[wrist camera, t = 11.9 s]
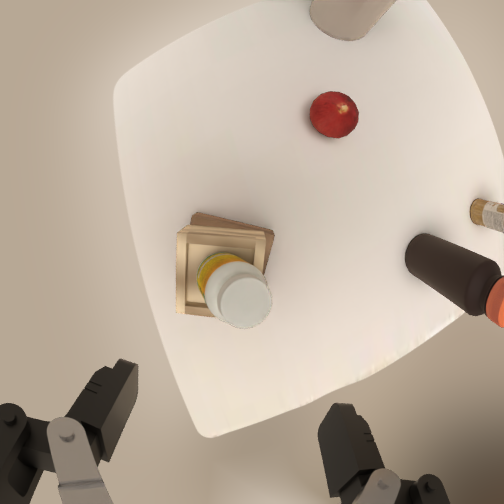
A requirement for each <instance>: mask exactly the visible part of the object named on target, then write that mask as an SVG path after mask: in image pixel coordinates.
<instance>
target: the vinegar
mask: <svg viewBox="0 0 504 504" xmlns="http://www.w3.org/2000/svg"><path fill="white" fill-rule="evenodd" d="M405 260H406V265H407V268H408V270H409V271H410V272H411V273H412V274H413V275H414V276H416V277H417V278H419V279H420V280H422V281H423V282H424V283H426V284H427V285H429V286H430V287H432V288H433V289H435V290H436V291H437V292H439V293H440V294H442V295H443V296H445V297H446V298H447V299H449V300H450V301H451V302H453V303H454V304H456V305H457V306H458V307H460V308H461V309H462V310H464V311H465V312H466V313H468V314H469V315H473V316H478V315H482V314H484V313H485V315H486V316H487V317H488V318H489V319H490V320H491V321H493V322H494V323H496V324H497V325H498V326H500V327H504V276H502V275H501V271H500V268H499V266H498V265H497V263H496V262H495V261H493V260H491V259H488V258H486V257H484V256H482V255H479V254H477V253H475V252H472V251H470V250H468V249H465V248H463V247H460V246H458V245H456V244H453V243H451V242H448V241H446V240H443V239H441V238H438V237H435V236H433V235H430V234H421V235H419V236H417V237H415V238H414V239H413V240H412V241H411V243H410V244H409V246H408V249H407V252H406V259H405Z"/></svg>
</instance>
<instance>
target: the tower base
mask: <svg viewBox="0 0 504 504" xmlns="http://www.w3.org/2000/svg"><path fill="white" fill-rule="evenodd" d="M190 225H198V226H210V227H221V228H233V229H244V230H254V231H264V234H265V238H266V246H265V255H264V264H263V273H262V274H263V275H264V273H265V269H266V265H267V262H268V258H269V254H270V251H271V247H272V243H273V240H274V236H275V235H274V233H273V230H270V229H266V228H261V227H257V226H253V225H249V224H245V223H241V222H237V221H233V220H228V219H224V218H220V217H216V216H212V215H207V214H203V213H199V212H197V213H196V214H194V215H192V218H191V223H190Z"/></svg>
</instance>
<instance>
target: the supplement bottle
mask: <svg viewBox="0 0 504 504" xmlns="http://www.w3.org/2000/svg"><path fill="white" fill-rule="evenodd" d="M196 280H197V285H198V288H199V290H200V292H201V294H202V296H203V298H204V300H205V302H206V304H207V307H208V308H209V310H210V311H211V313H212V314H213V315H214V316H215V317H216V318H218V319H219V320H221V321H223V322H226V323H229V324H230V325H232V326H234V327H237V328H242V329H246V328H252V327H254V326H256V325H258V324H260V323H261V322H262V321H263V320H264V319H265V318H266V317H267V315H268V314H269V312H270V309H271V306H272V296H271V292H270V290H269V288H268V285H267V282H266V279H265V277H264V275H263V274H262V273H261V271H260V270H259V269H257V268H256V267H255V266H253V265H251V264H250V263H248V262H246V261H244V260H243V259H241V258H239V257H237V256H236V255H234V254H231V253H228V252H217V253H214V254H211V255H209V256H208V257H206V258H205V259H204V260H203V261H202V262H201V264H200V265H199V267H198V270H197V275H196Z"/></svg>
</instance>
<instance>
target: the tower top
mask: <svg viewBox="0 0 504 504" xmlns="http://www.w3.org/2000/svg"><path fill="white" fill-rule="evenodd" d="M265 246H266V238H265V234H264V231H254V230H244V229H233V228H221V227H210V226H198V225H187V226H186V227H184V228H183V229H182V230H180V231H179V232H178V233H177V253H176V313H182V314H190V315H198V316H207V317H215V316H214V315H213V314H212V313H211V311H210V310H209V308H208V307H207V304H206V302H205V300H204V298H203V296H202V294H201V292H200V290H199V288H198V285H197V280H196V275H197V270H198V267H199V265H200V264H201V262H202V261H203V260H204V259H205V258H206V257H208V256H209V255H211V254H214V253H217V252H228V253H231V254H234V255H236V256H237V257H239V258H241V259H243V260H244V261H246V262H248V263H250V264H251V265H253V266H255V267H256V268H257V269H259V270H260V271H261V273H263V264H264V255H265Z"/></svg>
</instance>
